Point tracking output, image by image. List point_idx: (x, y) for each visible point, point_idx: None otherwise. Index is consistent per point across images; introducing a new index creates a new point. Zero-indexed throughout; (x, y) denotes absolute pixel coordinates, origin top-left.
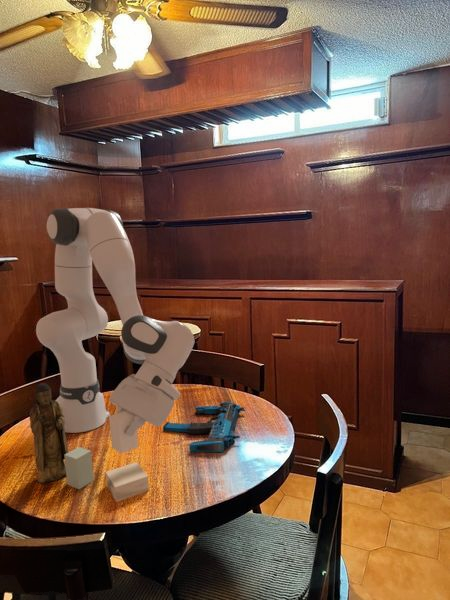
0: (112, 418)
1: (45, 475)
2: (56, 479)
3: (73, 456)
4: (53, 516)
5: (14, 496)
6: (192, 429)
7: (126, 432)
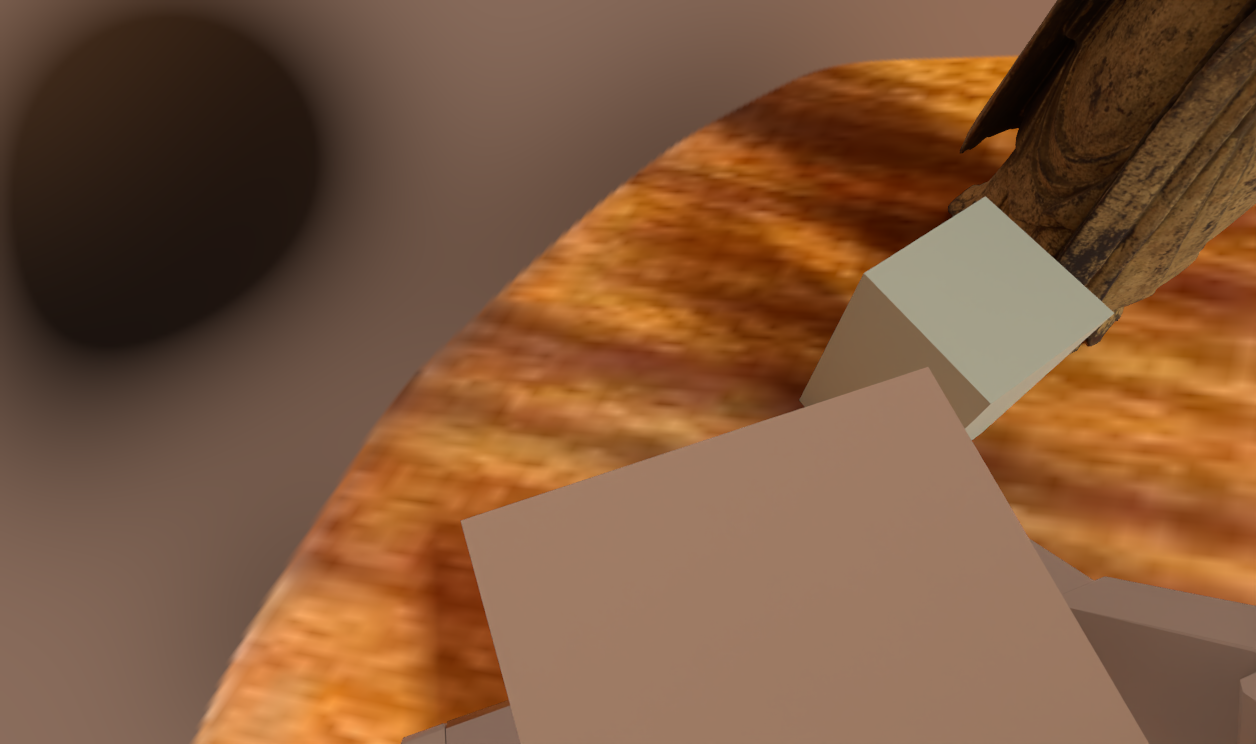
0: (767, 424)
1: (977, 196)
2: None
3: (925, 257)
4: (565, 252)
5: (861, 93)
6: None
7: (432, 731)
